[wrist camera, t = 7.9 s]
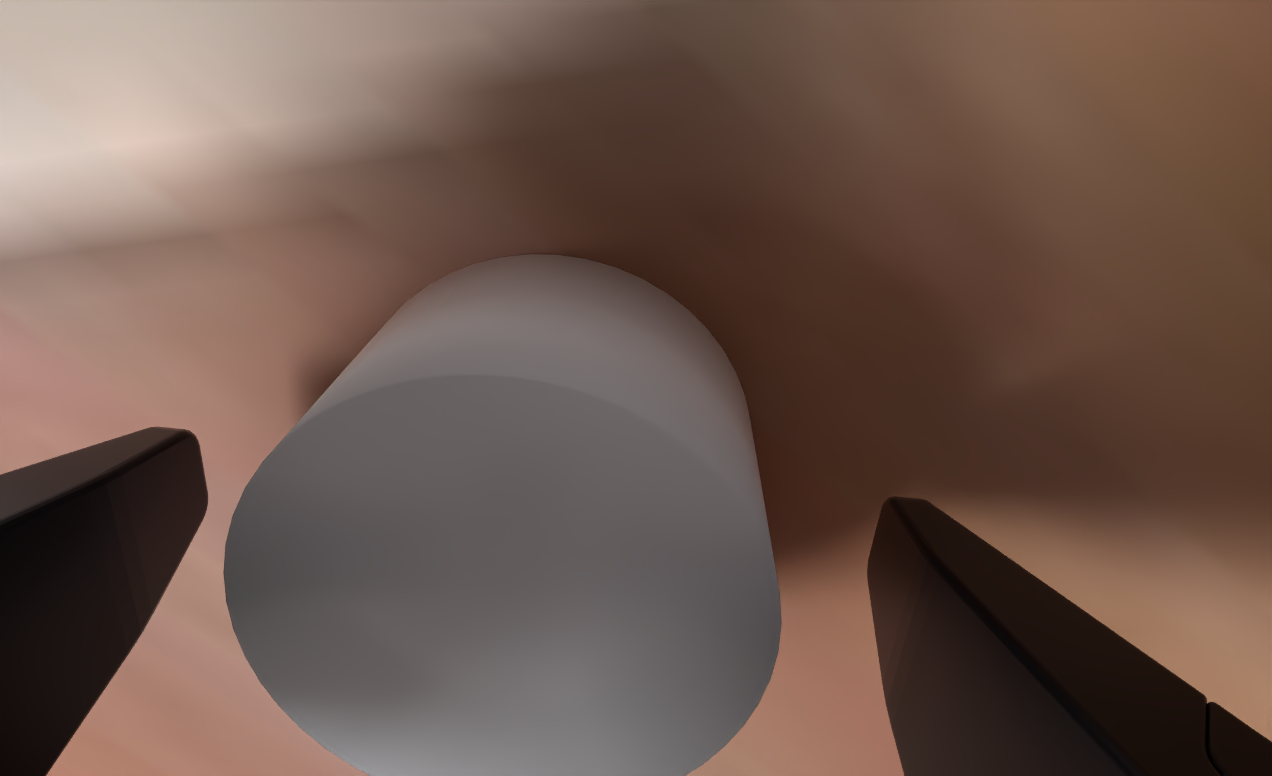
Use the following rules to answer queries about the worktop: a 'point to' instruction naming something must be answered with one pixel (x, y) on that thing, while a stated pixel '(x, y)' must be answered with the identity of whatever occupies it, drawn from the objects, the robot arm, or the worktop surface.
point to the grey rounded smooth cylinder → (516, 537)
